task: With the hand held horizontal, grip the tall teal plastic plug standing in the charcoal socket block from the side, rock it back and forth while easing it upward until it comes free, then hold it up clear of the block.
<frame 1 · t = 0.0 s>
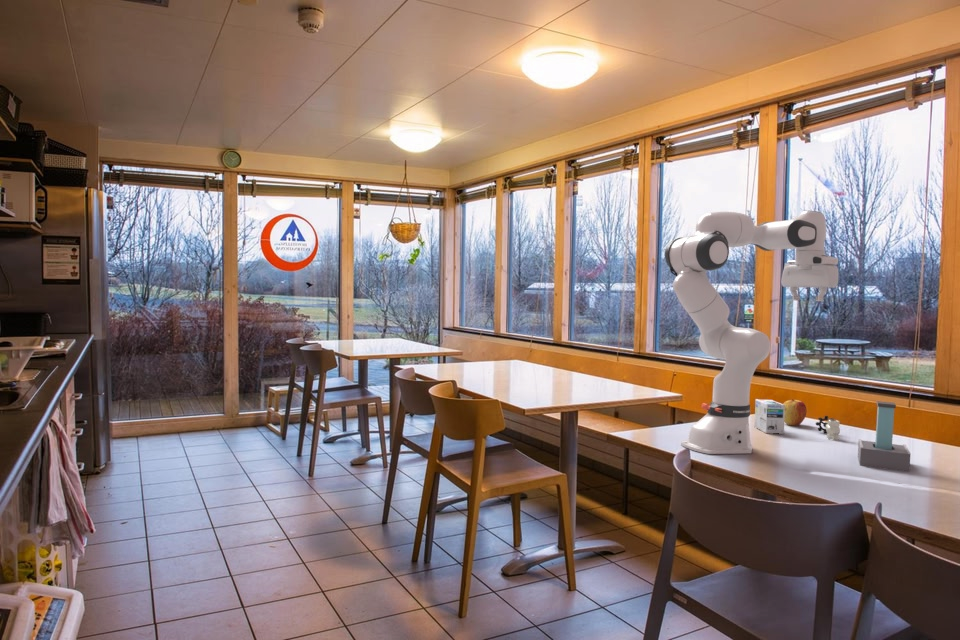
hand: (807, 300, 217), 48 cm above the table, tool pointing down, fingers open, 8 cm apart
plug: (882, 463, 188), point 1 cm above the table, touching grey socket base
valve: (829, 437, 228), on the table
apple: (792, 425, 247), on the table
light bulb box: (768, 431, 235), on the table
grey socket base: (882, 467, 188), on the table
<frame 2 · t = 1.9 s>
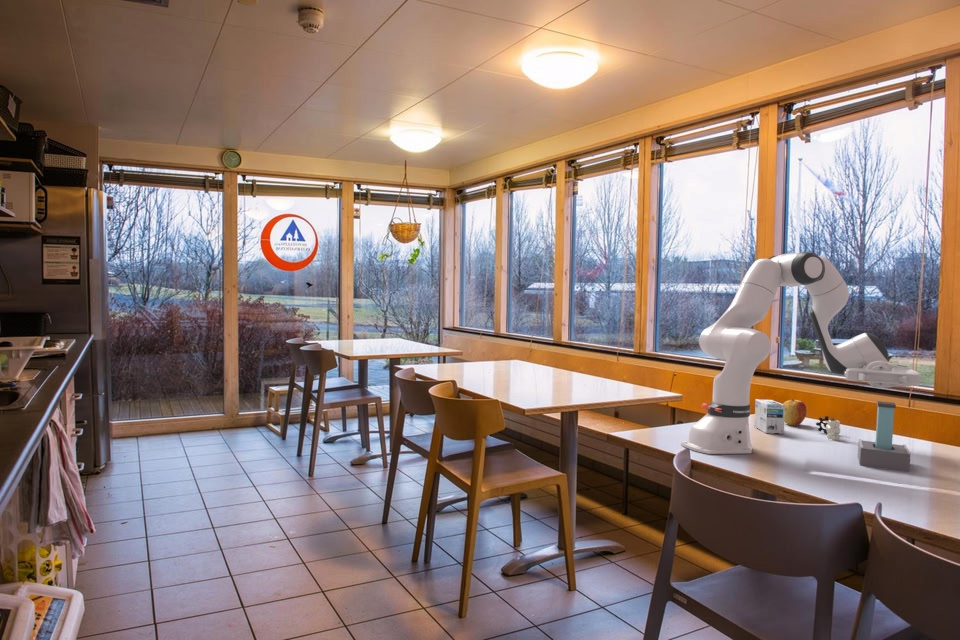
hand: (883, 379, 198), 25 cm above the table, tool horizontal, fingers open, 8 cm apart
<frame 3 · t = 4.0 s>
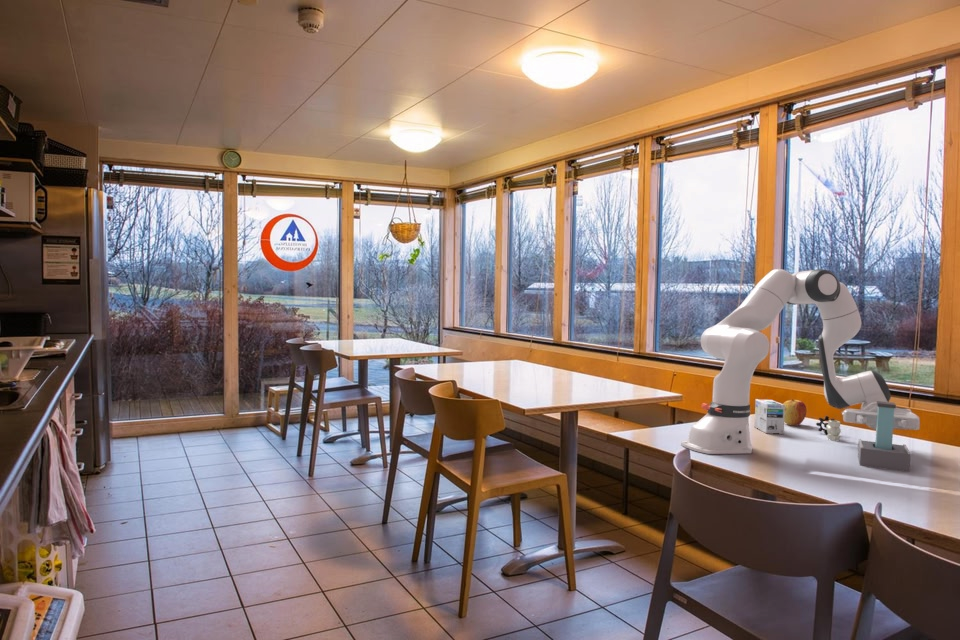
hand: (882, 423, 194), 12 cm above the table, tool horizontal, fingers open, 8 cm apart
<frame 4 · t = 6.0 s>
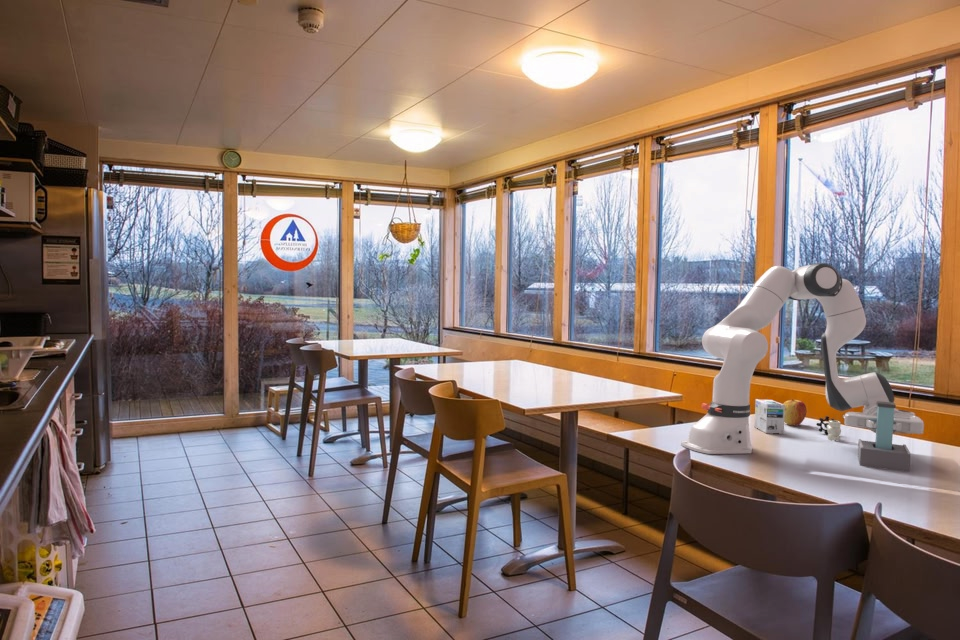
hand: (884, 427, 187), 12 cm above the table, tool horizontal, fingers closed on plug, 4 cm apart
plug: (882, 463, 188), point 1 cm above the table, touching gripper, grey socket base
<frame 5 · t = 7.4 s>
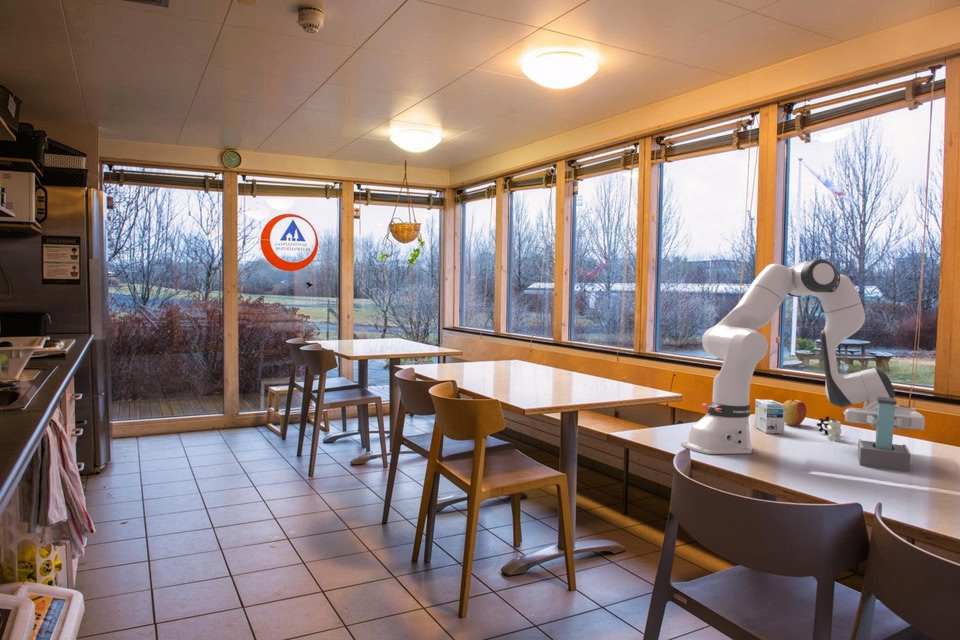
hand: (885, 422, 186), 13 cm above the table, tool horizontal, fingers closed on plug, 4 cm apart
plug: (882, 459, 188), point 2 cm above the table, touching gripper
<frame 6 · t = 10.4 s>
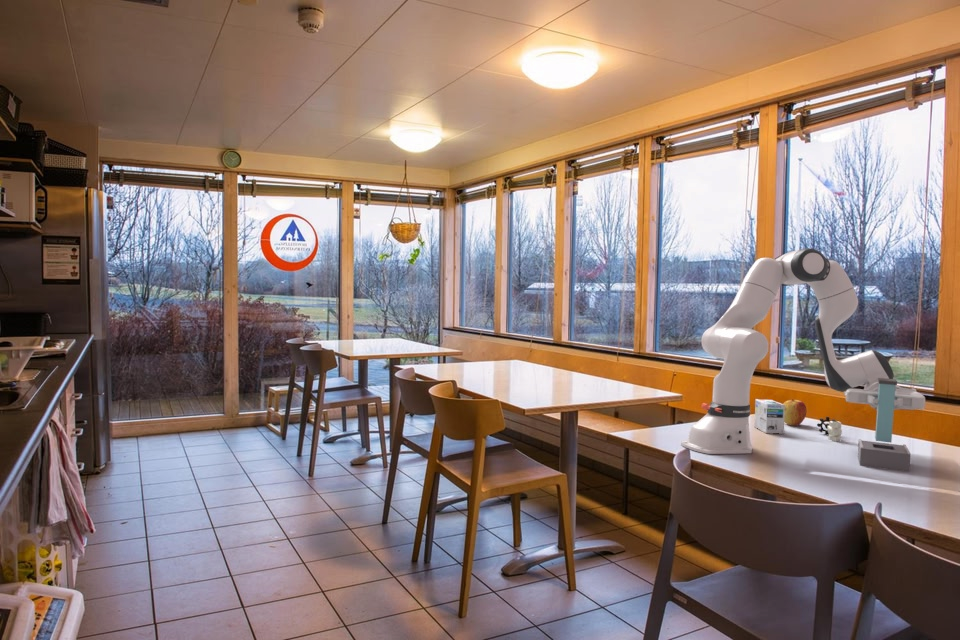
hand: (886, 402, 186), 19 cm above the table, tool horizontal, fingers closed on plug, 4 cm apart
plug: (883, 440, 188), point 8 cm above the table, touching gripper
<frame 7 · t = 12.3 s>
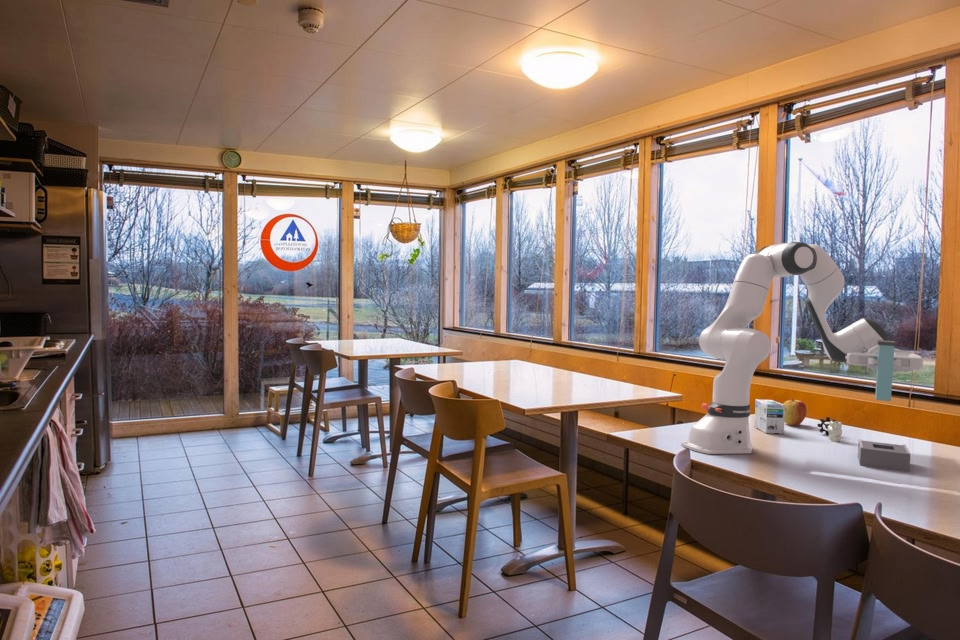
hand: (885, 362, 195), 30 cm above the table, tool horizontal, fingers closed on plug, 4 cm apart
plug: (882, 399, 197), point 19 cm above the table, touching gripper
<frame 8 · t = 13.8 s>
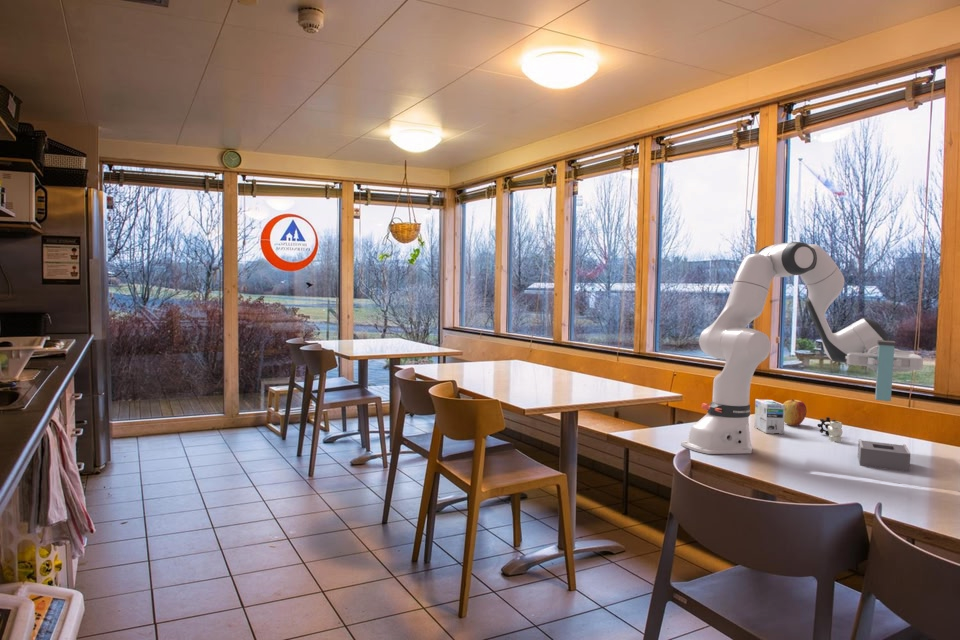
hand: (885, 363, 195), 30 cm above the table, tool horizontal, fingers closed on plug, 4 cm apart
plug: (882, 399, 197), point 19 cm above the table, touching gripper
at the end: plug point 18.5 cm above the table; plug touching gripper; the gripper is holding plug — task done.
